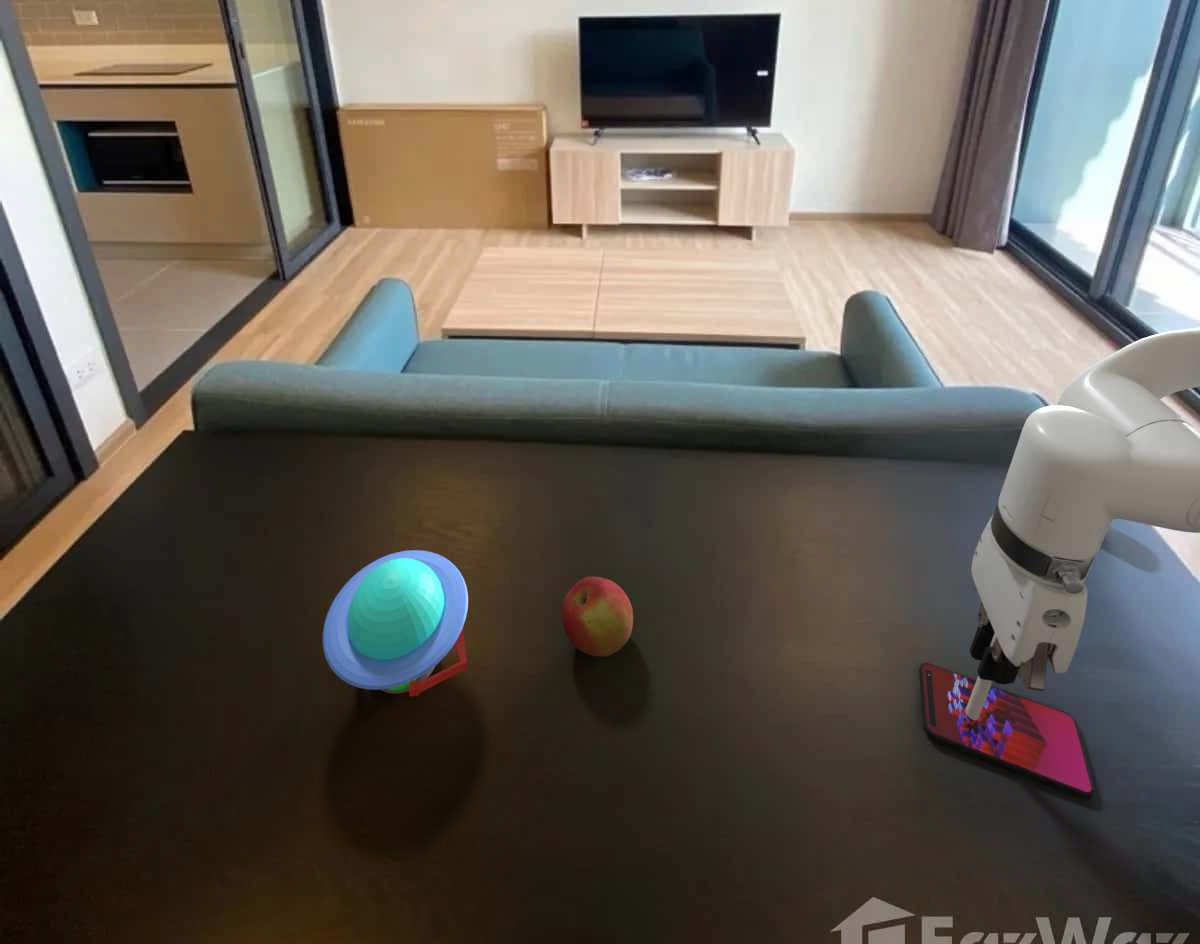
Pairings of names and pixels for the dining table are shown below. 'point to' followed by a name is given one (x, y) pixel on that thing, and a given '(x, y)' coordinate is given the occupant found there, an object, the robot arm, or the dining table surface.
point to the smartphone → (1005, 730)
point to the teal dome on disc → (398, 623)
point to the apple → (597, 616)
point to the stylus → (978, 695)
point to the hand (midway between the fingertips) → (990, 667)
